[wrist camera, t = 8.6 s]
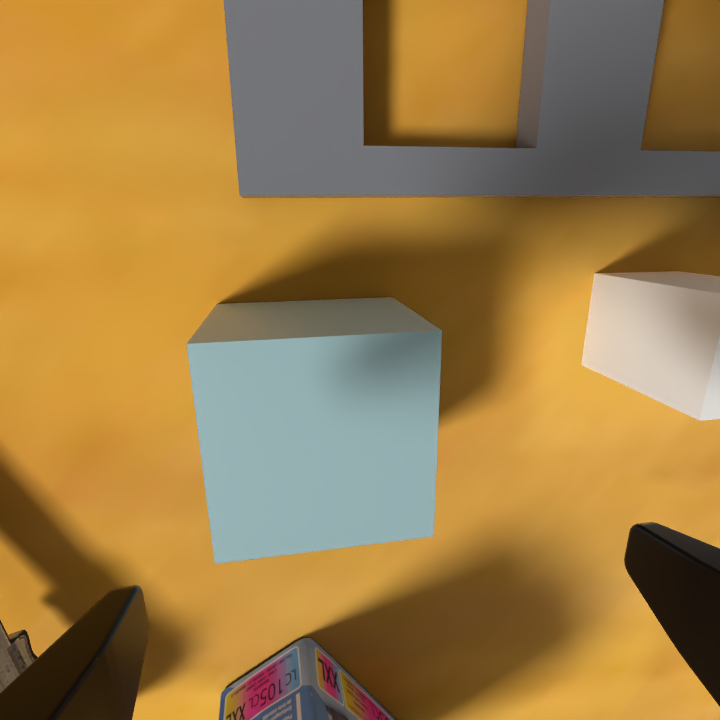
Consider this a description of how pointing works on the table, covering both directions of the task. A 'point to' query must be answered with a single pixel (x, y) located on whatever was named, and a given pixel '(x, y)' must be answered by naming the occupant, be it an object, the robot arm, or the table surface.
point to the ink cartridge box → (299, 690)
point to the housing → (316, 424)
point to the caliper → (14, 655)
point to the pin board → (453, 164)
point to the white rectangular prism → (658, 337)
